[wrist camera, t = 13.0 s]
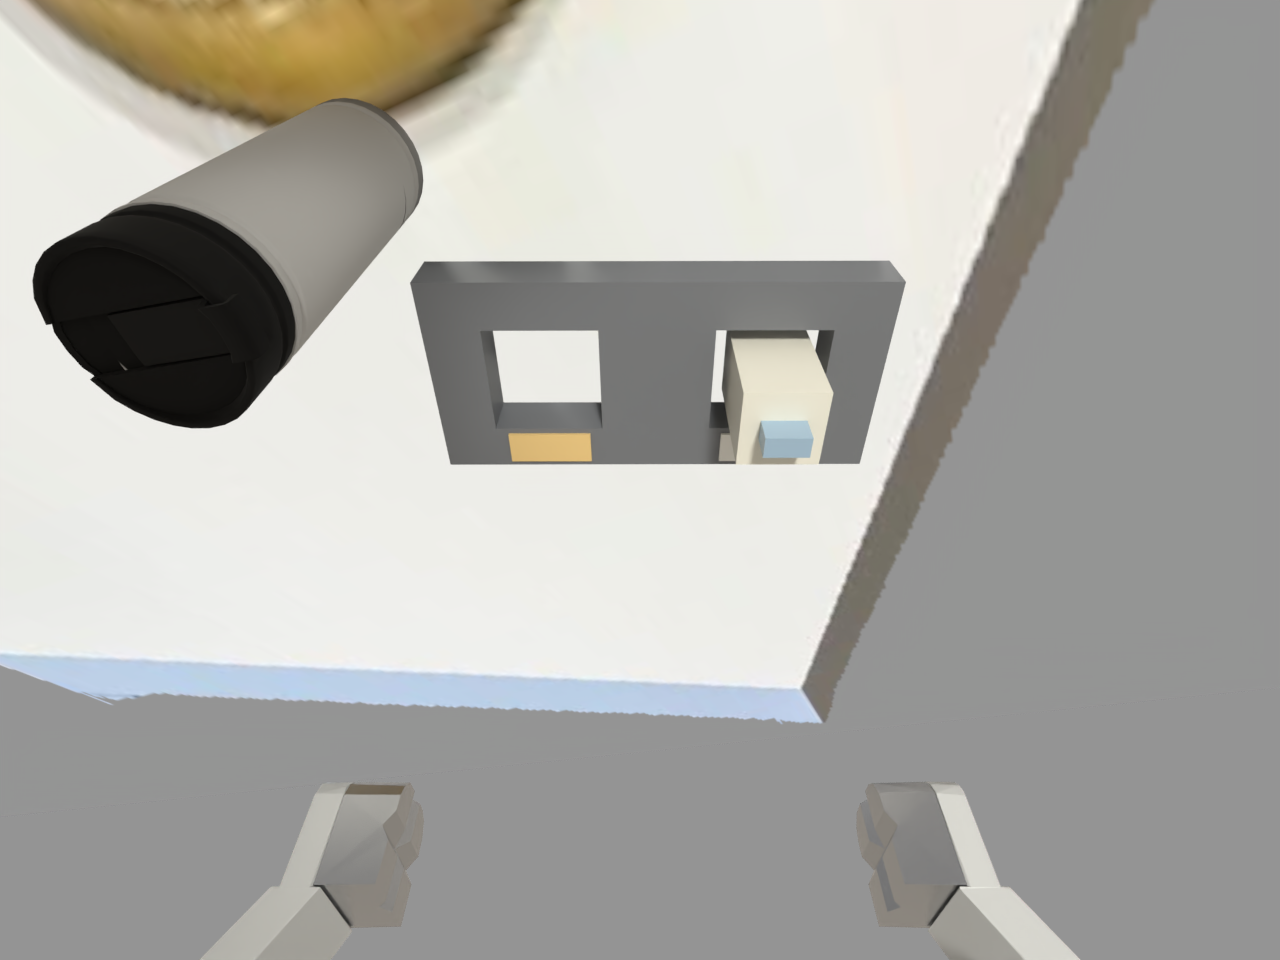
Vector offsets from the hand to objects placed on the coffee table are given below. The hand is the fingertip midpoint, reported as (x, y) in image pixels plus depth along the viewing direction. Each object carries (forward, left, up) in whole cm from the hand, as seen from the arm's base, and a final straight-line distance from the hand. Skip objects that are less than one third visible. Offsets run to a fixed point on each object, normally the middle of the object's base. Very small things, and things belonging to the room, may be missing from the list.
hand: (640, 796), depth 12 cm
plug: (+8, +7, -31) cm, 33 cm away
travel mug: (-3, -14, -31) cm, 34 cm away
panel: (+8, +1, -31) cm, 32 cm away
